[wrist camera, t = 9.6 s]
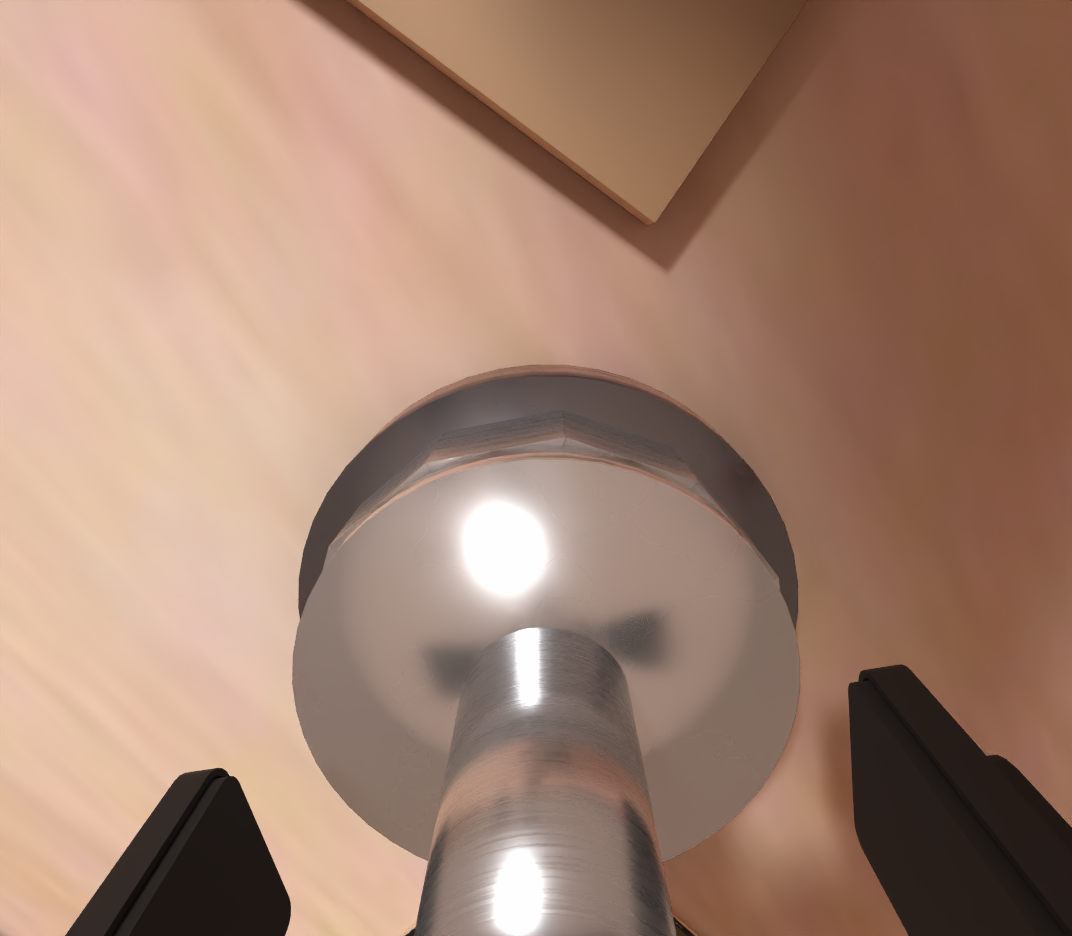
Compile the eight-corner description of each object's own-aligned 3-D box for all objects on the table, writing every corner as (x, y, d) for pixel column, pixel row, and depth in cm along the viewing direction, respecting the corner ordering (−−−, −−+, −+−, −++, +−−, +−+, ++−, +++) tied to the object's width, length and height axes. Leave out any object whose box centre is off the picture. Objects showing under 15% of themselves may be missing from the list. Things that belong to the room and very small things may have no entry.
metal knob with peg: (286, 461, 13) (-66, 739, 5) (729, 377, 12) (1018, 565, 5) (400, 800, 16) (270, 1290, 8) (766, 747, 15) (984, 1227, 8)
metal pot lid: (476, 260, 13) (456, 261, 10) (871, 535, 15) (952, 604, 12) (244, 639, 16) (177, 726, 13) (597, 829, 18) (608, 943, 15)
